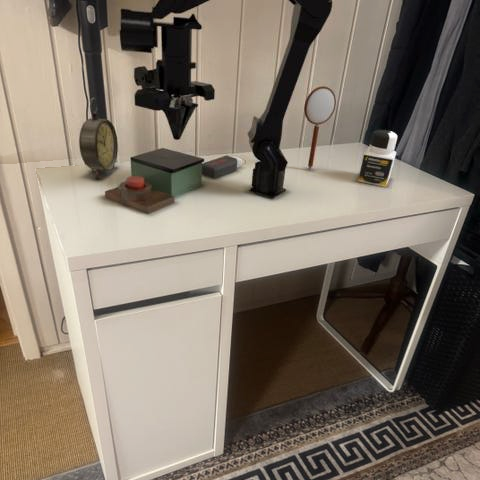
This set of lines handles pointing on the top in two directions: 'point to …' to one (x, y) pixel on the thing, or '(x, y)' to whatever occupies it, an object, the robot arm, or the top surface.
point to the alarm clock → (98, 143)
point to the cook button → (135, 182)
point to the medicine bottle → (379, 158)
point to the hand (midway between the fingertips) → (176, 139)
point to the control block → (140, 197)
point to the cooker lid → (167, 160)
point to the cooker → (169, 178)
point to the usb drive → (220, 166)
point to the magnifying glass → (318, 112)
